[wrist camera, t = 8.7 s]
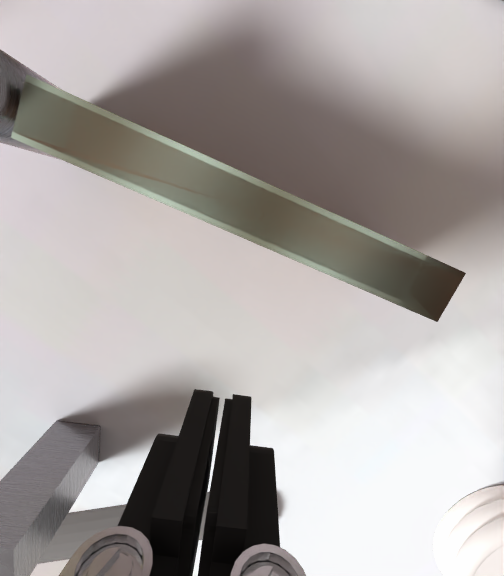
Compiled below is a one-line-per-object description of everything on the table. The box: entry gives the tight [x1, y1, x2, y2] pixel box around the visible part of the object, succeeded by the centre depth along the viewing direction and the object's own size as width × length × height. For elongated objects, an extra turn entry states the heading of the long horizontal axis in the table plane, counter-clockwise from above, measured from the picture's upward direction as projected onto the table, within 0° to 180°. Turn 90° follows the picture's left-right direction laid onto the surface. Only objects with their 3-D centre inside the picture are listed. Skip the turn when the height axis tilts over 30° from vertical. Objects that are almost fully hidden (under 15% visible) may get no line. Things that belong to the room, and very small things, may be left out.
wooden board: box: [11, 74, 466, 322], centre depth 15 cm, size 16×2×7 cm, turn 67°
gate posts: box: [0, 50, 100, 576], centre depth 16 cm, size 3×23×10 cm, turn 172°
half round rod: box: [37, 492, 210, 564], centre depth 24 cm, size 4×20×2 cm, turn 100°
